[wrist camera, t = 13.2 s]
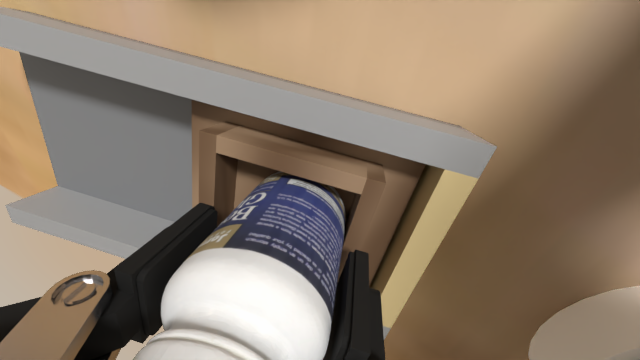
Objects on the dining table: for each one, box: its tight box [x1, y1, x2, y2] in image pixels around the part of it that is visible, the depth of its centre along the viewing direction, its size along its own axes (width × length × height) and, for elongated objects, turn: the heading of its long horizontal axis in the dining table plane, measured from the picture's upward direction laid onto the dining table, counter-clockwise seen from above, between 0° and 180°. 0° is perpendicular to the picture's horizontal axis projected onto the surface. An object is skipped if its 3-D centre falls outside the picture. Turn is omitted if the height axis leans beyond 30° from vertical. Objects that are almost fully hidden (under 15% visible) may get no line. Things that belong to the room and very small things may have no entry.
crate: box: [191, 100, 426, 286], centre depth 13 cm, size 12×9×4 cm
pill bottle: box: [133, 171, 346, 360], centre depth 9 cm, size 5×5×10 cm
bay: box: [0, 7, 497, 339], centre depth 15 cm, size 26×13×4 cm, turn 77°
